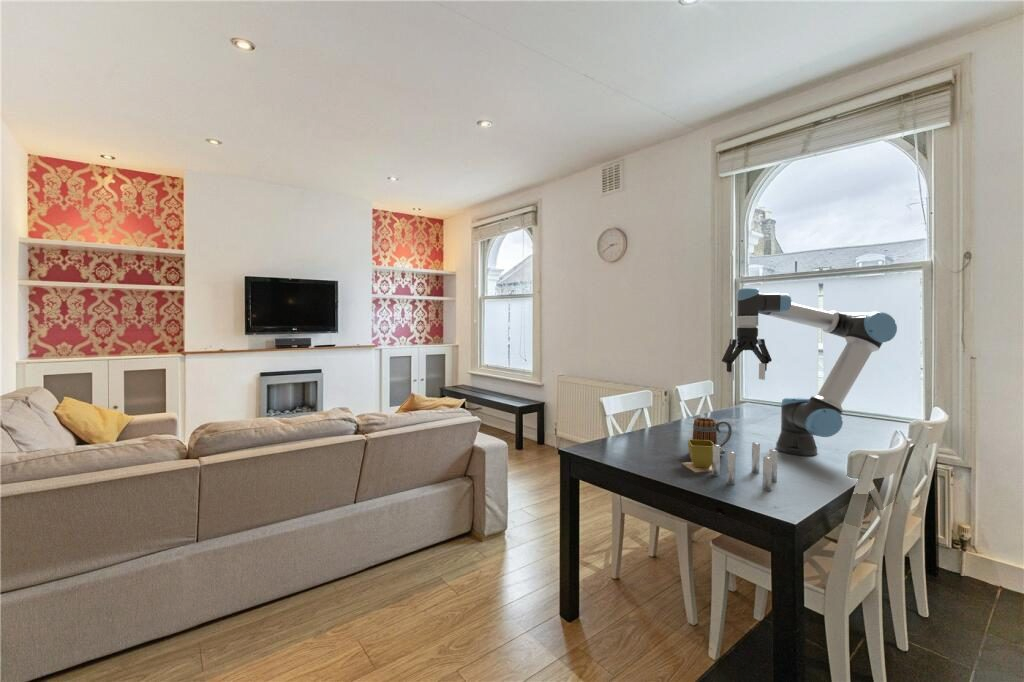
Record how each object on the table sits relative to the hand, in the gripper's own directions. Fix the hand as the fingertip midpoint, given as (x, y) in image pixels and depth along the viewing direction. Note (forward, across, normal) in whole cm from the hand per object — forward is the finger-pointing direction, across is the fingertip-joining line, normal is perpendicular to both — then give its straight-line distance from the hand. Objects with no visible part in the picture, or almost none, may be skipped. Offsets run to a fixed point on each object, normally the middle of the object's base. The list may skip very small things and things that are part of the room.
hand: (746, 379), depth 183 cm
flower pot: (+32, +23, +6) cm, 40 cm away
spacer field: (+33, +14, +23) cm, 42 cm away
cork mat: (+33, +23, +6) cm, 40 cm away
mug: (+33, +10, -8) cm, 35 cm away
